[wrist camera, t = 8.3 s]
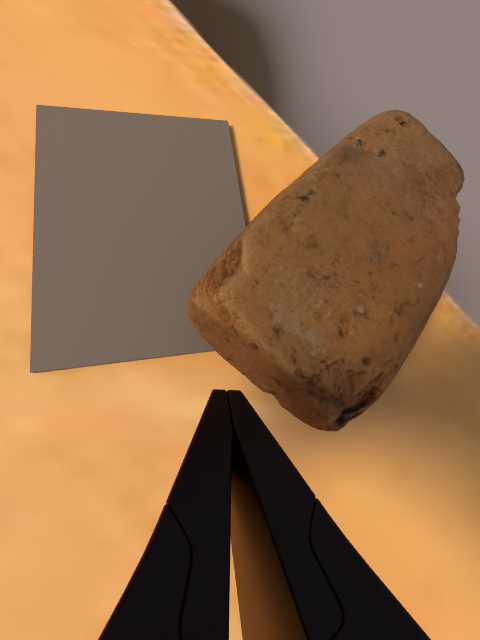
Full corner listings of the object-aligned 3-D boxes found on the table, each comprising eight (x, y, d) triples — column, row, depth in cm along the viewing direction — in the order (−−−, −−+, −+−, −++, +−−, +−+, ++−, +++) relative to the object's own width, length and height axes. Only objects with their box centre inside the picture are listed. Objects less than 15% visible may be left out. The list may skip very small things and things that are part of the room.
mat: (263, 344, 18) (265, 343, 18) (34, 373, 15) (29, 372, 15) (226, 126, 23) (227, 120, 22) (40, 111, 19) (36, 104, 19)
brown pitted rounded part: (174, 265, 10) (395, 81, 17) (171, 319, 17) (330, 172, 24) (385, 461, 10) (516, 193, 17) (296, 434, 17) (416, 252, 24)
